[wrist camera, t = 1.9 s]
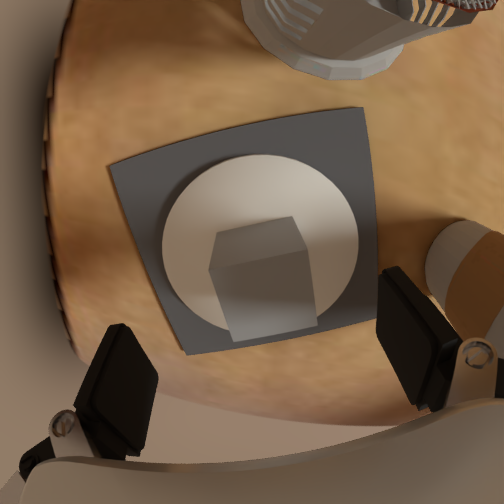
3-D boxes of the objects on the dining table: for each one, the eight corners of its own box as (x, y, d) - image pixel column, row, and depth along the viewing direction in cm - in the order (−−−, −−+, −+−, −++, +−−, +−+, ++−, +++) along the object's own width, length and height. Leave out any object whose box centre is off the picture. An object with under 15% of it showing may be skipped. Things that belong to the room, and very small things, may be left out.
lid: (357, 306, 19) (382, 355, 14) (199, 338, 19) (190, 392, 15) (342, 137, 14) (381, 146, 10) (140, 183, 15) (101, 210, 10)
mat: (374, 313, 20) (376, 318, 19) (187, 350, 21) (186, 355, 20) (359, 107, 14) (363, 107, 13) (113, 164, 15) (109, 165, 14)
